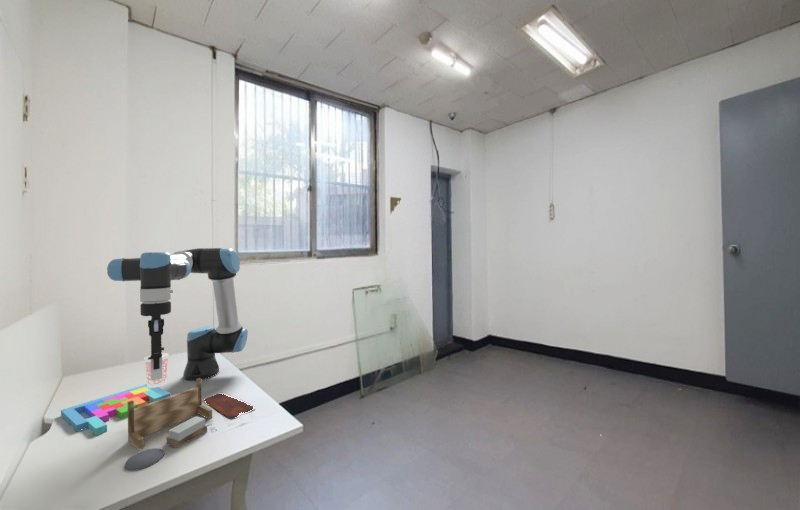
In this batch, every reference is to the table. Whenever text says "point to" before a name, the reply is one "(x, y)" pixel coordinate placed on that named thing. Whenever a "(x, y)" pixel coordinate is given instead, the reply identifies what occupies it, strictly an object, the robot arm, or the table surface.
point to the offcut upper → (186, 428)
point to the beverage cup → (164, 371)
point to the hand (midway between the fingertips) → (156, 375)
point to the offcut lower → (177, 443)
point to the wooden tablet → (228, 405)
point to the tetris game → (110, 407)
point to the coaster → (144, 459)
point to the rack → (164, 413)
